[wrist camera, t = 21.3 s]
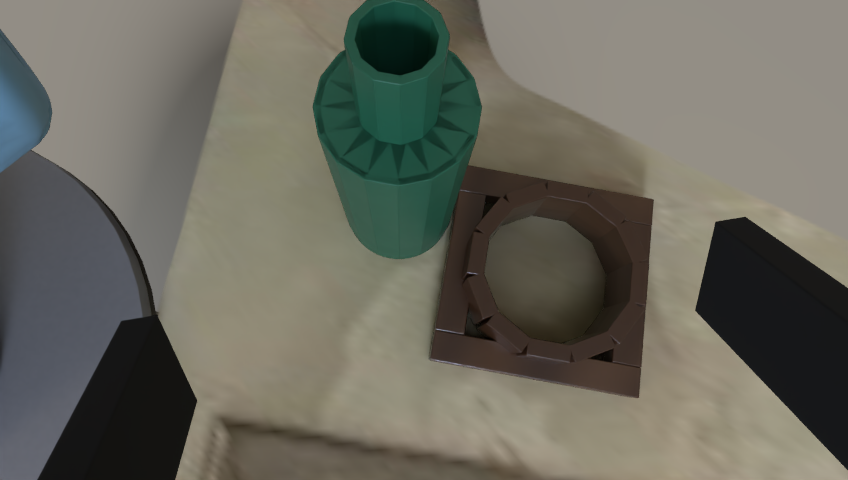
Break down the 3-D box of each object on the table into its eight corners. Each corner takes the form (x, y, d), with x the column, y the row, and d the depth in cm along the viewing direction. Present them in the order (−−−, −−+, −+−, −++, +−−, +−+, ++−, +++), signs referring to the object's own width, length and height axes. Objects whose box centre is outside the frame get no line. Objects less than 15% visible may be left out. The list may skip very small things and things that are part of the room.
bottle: (338, 248, 34) (267, 111, 16) (359, 154, 35) (317, -67, 18) (440, 267, 34) (484, 152, 16) (457, 172, 35) (514, -31, 18)
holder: (428, 360, 32) (432, 358, 28) (460, 172, 35) (468, 148, 32) (628, 397, 32) (659, 400, 28) (643, 206, 35) (673, 186, 32)
